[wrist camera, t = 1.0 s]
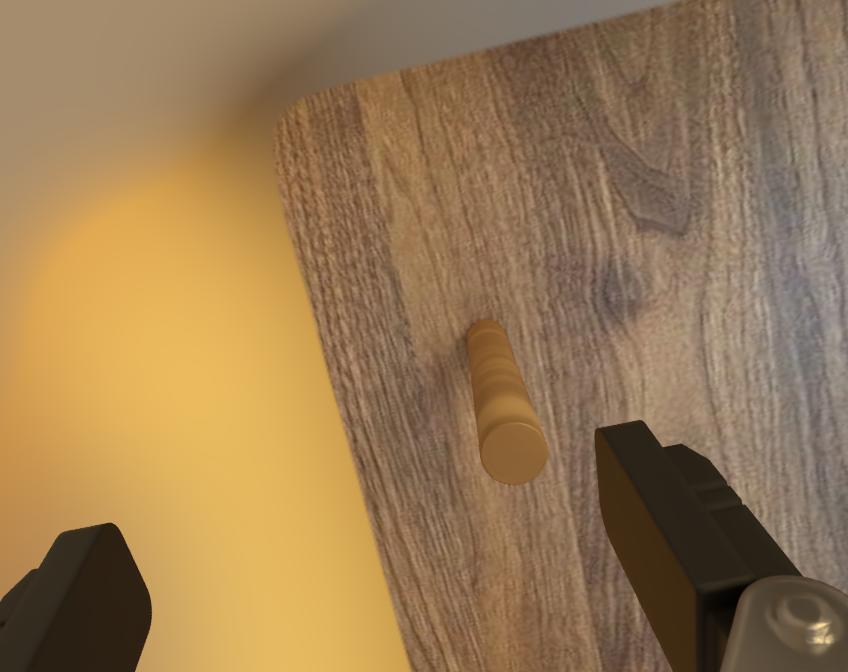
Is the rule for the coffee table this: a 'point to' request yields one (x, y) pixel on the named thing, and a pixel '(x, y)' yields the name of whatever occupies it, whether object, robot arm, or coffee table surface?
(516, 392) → the stick
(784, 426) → the coffee table surface
